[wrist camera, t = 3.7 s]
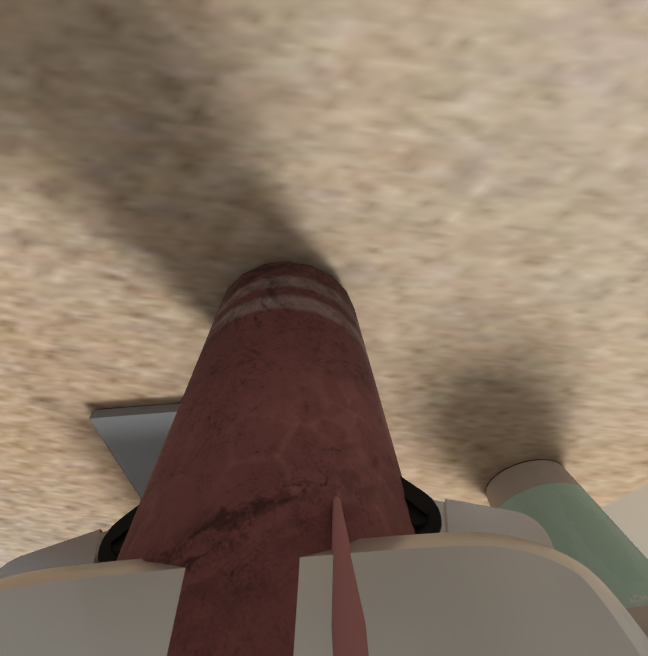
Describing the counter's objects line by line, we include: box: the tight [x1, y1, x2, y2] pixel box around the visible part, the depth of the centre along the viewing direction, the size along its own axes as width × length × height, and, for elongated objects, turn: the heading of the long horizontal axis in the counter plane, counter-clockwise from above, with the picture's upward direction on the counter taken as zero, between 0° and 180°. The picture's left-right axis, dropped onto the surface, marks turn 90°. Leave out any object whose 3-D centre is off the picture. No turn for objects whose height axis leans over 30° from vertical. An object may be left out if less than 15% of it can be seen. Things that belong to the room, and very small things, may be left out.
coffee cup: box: [486, 460, 648, 638], centre depth 19 cm, size 8×9×12 cm
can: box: [116, 262, 415, 656], centre depth 9 cm, size 6×6×14 cm
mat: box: [89, 403, 180, 499], centre depth 23 cm, size 20×14×1 cm
